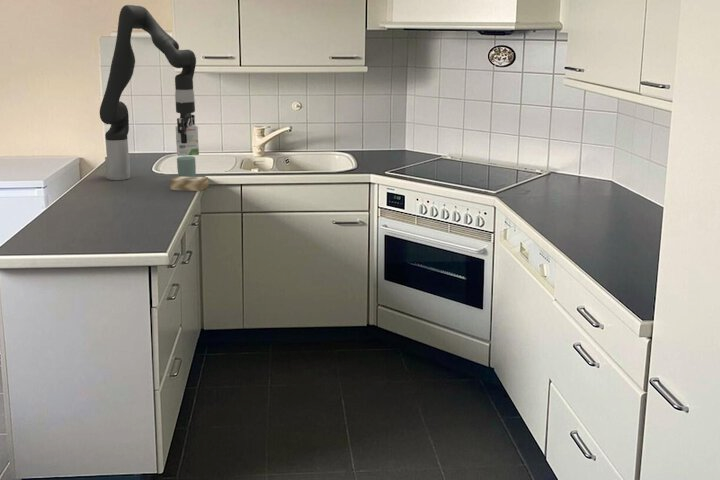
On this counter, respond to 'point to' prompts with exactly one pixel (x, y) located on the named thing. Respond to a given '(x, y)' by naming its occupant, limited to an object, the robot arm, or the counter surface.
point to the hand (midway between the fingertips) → (187, 141)
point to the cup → (186, 166)
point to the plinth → (189, 183)
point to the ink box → (188, 142)
